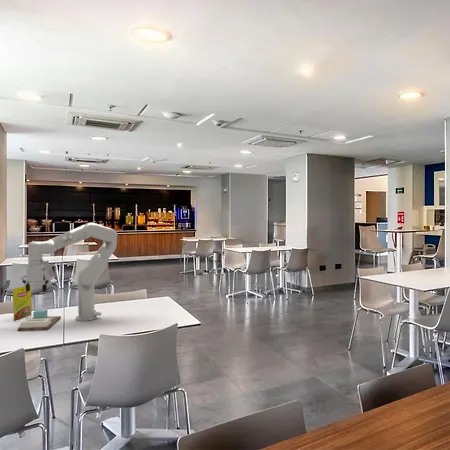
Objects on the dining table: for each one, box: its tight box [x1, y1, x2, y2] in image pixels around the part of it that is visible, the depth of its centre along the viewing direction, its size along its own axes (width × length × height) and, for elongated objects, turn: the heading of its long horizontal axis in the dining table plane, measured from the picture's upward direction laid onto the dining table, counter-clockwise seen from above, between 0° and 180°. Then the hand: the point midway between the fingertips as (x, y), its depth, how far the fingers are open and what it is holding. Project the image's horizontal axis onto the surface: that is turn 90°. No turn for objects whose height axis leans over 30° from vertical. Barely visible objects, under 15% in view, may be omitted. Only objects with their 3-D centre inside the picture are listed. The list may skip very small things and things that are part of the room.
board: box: [17, 315, 62, 332], centre depth 222 cm, size 16×24×2 cm, turn 8°
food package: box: [12, 284, 33, 322], centre depth 235 cm, size 15×1×20 cm, turn 168°
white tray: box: [19, 317, 51, 328], centre depth 215 cm, size 14×8×3 cm, turn 98°
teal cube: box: [32, 309, 48, 318], centre depth 222 cm, size 6×6×6 cm
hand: (36, 291), depth 222 cm, fingers open, 9 cm apart
